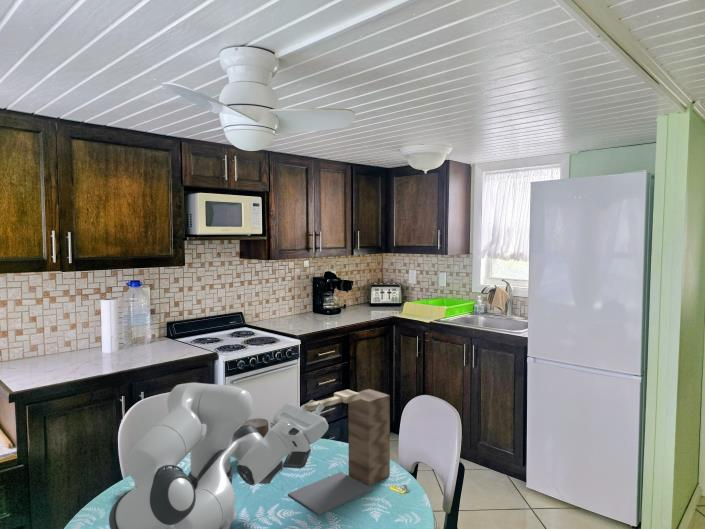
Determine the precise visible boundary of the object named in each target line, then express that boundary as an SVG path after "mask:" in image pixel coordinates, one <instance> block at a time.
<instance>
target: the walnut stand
mask: <svg viewBox="0 0 705 529" xmlns="http://www.w3.org/2000/svg"><path fill="white" fill-rule="evenodd" d="M357 393H360V400H356V401H352V402H349V403H347V404H348V411H347V412H348V416H347V417H348V424H347V425H348V428H347V429H348V476H350V477H352V478H354V479H356V480H358V481H360V482H361V483H363V484H365V485H367V486H369V487H370V486H371V485H373V484H375V483H377V482H380V481H383V480H384V479H387V478H389V477H390V476H391V475H390V474H391V471H390V468H391V466H390V463H391V460H390V458H391V455H390V454H391V451H390V450H391V445H390V443H391V442H390V441H391V437H390V436H391V435H390V434H391V430H390V429H391V425H390V424H391V421H390V420H391V419H390V416H391V414H390V412H391V411H390V410H391V408H390V406H391V404H390V403H391V401H390V399H391V398H390V394H387V393H384V392H381V391H377V390H375V389H371V388H368V389H363V390H361V391H357ZM388 476H389V477H388ZM386 477H387V478H386Z"/></svg>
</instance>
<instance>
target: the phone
mask: <svg viewBox="0 0 705 529" xmlns="http://www.w3.org/2000/svg"><path fill="white" fill-rule="evenodd" d="M311 452H312V448H310V449H309V450H308V451H307V452H301V451H295V452H292V451H291V452H290V453H289V454H288V455H287V456H286V458H285V460H284V462H283V467H284V466H285V468H304V467H306V464H307V462H308V460H307V459H309V457H310V455H309V454H311Z"/></svg>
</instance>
